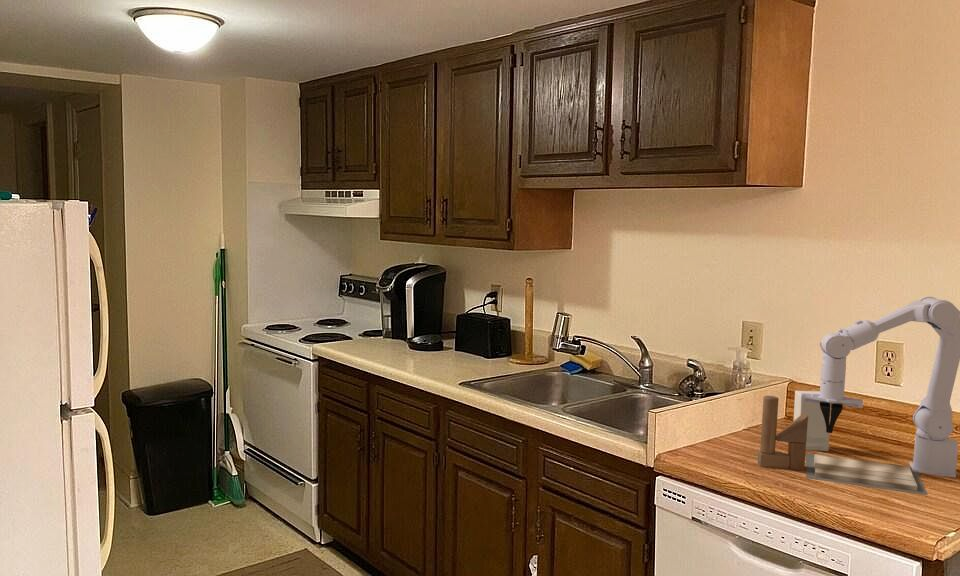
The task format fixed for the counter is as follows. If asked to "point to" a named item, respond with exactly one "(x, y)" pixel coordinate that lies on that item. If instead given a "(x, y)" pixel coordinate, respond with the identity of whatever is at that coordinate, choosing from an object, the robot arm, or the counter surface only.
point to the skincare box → (812, 422)
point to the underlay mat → (811, 475)
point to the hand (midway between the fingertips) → (829, 431)
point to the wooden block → (781, 439)
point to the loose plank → (862, 464)
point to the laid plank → (865, 477)
